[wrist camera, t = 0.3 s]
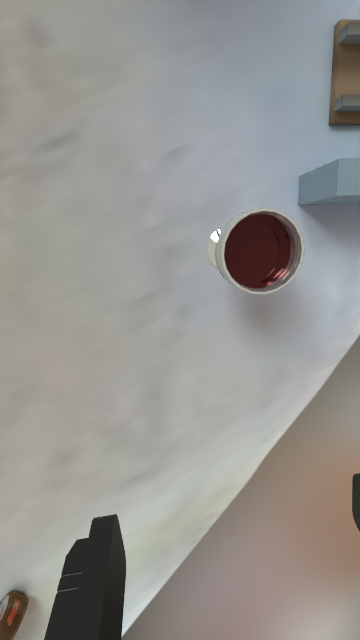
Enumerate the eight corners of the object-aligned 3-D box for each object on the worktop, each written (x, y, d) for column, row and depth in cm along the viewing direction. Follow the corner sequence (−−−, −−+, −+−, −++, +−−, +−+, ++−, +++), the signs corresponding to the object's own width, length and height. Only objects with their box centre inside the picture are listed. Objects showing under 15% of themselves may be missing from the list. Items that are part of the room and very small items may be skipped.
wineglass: (246, 208, 37) (290, 192, 25) (265, 265, 38) (315, 275, 27) (189, 232, 37) (207, 227, 25) (211, 288, 38) (237, 308, 27)
